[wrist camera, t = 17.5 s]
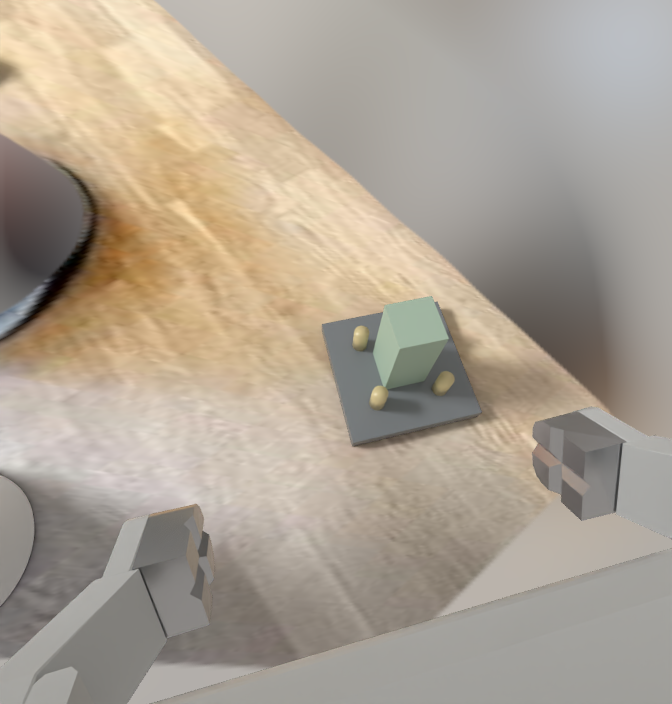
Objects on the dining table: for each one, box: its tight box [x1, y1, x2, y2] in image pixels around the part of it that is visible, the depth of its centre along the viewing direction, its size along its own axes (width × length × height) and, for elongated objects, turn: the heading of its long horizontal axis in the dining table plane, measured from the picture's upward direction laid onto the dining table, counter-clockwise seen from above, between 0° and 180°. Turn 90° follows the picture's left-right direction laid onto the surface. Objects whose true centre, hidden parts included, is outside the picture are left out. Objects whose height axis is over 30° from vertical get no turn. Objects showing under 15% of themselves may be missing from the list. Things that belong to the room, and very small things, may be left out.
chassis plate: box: [322, 302, 482, 446], centre depth 47 cm, size 14×14×4 cm
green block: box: [373, 296, 449, 389], centre depth 43 cm, size 4×4×10 cm
